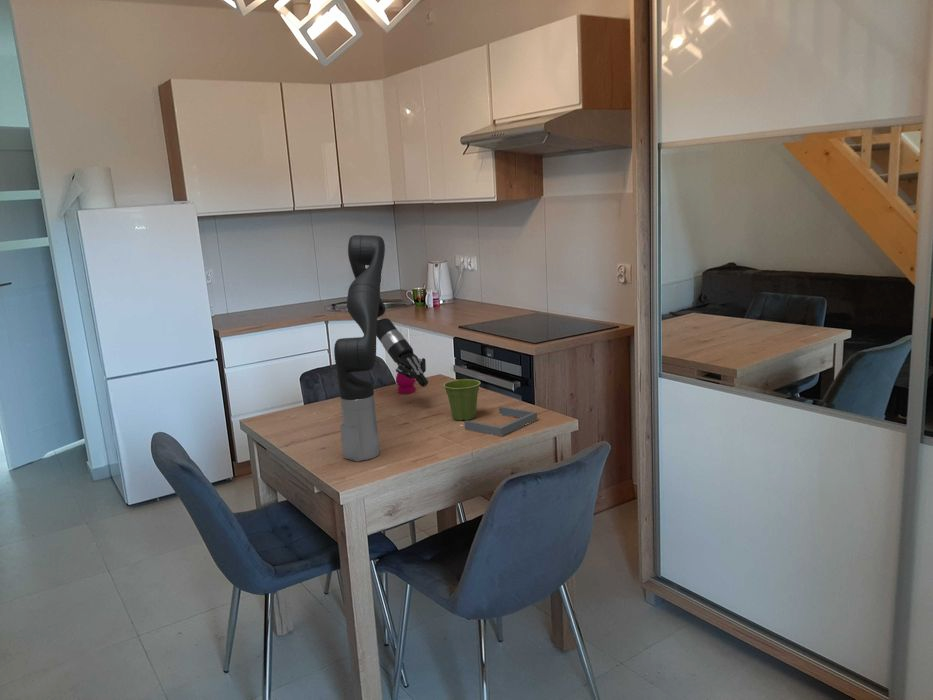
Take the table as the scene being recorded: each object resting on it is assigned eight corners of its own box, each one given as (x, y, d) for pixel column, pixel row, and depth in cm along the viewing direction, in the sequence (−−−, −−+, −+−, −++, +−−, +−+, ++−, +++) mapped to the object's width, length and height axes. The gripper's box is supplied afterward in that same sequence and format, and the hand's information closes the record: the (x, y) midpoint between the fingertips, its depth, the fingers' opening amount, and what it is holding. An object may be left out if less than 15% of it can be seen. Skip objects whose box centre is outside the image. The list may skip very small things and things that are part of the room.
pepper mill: (413, 394, 260) (409, 340, 256) (394, 394, 262) (389, 340, 258) (418, 389, 267) (414, 336, 263) (400, 389, 269) (395, 337, 265)
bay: (501, 436, 207) (501, 428, 207) (464, 429, 216) (464, 421, 216) (537, 420, 221) (536, 412, 220) (501, 413, 230) (500, 406, 229)
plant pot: (488, 413, 231) (486, 379, 229) (474, 424, 221) (472, 389, 218) (454, 411, 236) (452, 378, 234) (439, 422, 225) (437, 387, 223)
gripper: (387, 342, 235) (417, 382, 230) (415, 335, 245) (444, 373, 239) (377, 356, 239) (406, 396, 234) (405, 349, 249) (433, 387, 244)
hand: (425, 385), depth 237 cm, fingers closed
